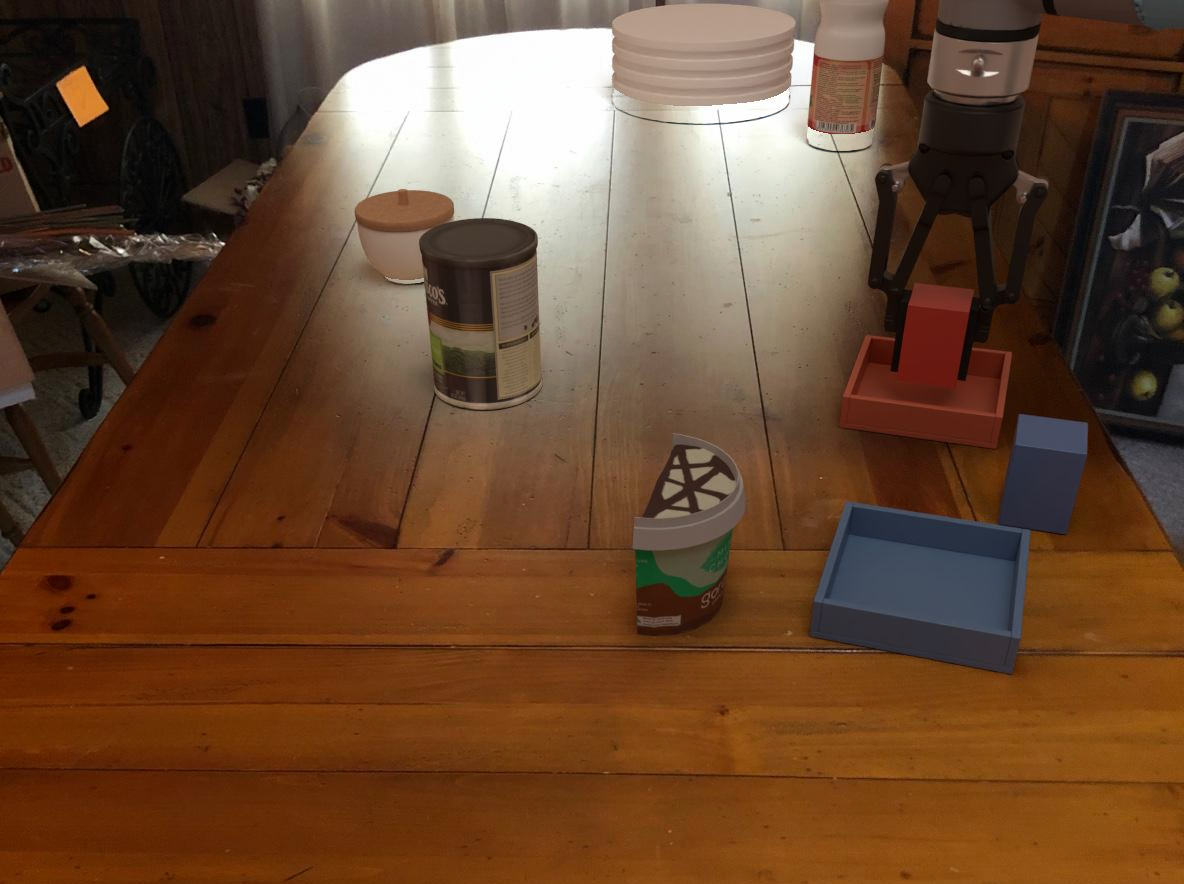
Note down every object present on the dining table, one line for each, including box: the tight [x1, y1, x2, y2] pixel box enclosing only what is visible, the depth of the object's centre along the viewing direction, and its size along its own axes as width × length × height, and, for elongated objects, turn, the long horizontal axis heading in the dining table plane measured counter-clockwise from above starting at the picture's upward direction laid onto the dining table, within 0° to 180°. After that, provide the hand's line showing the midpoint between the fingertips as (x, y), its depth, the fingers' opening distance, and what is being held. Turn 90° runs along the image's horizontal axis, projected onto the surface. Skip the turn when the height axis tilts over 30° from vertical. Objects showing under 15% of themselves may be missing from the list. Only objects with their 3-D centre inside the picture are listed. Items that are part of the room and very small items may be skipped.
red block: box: [897, 282, 975, 388], centre depth 105 cm, size 5×5×7 cm
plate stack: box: [611, 3, 797, 106], centre depth 190 cm, size 28×28×12 cm
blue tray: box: [809, 501, 1032, 675], centre depth 85 cm, size 13×13×3 cm
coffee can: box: [419, 217, 544, 411], centre depth 110 cm, size 10×10×14 cm
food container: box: [632, 432, 747, 636], centre depth 83 cm, size 12×6×10 cm, turn 164°
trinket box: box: [354, 188, 455, 280], centre depth 134 cm, size 11×11×9 cm
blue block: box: [997, 413, 1089, 536], centre depth 92 cm, size 5×5×7 cm
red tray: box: [838, 334, 1013, 450], centre depth 108 cm, size 13×13×3 cm
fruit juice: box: [807, 0, 890, 134], centre depth 165 cm, size 9×9×28 cm
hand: (929, 369), depth 107 cm, fingers closed on red block, 5 cm apart
